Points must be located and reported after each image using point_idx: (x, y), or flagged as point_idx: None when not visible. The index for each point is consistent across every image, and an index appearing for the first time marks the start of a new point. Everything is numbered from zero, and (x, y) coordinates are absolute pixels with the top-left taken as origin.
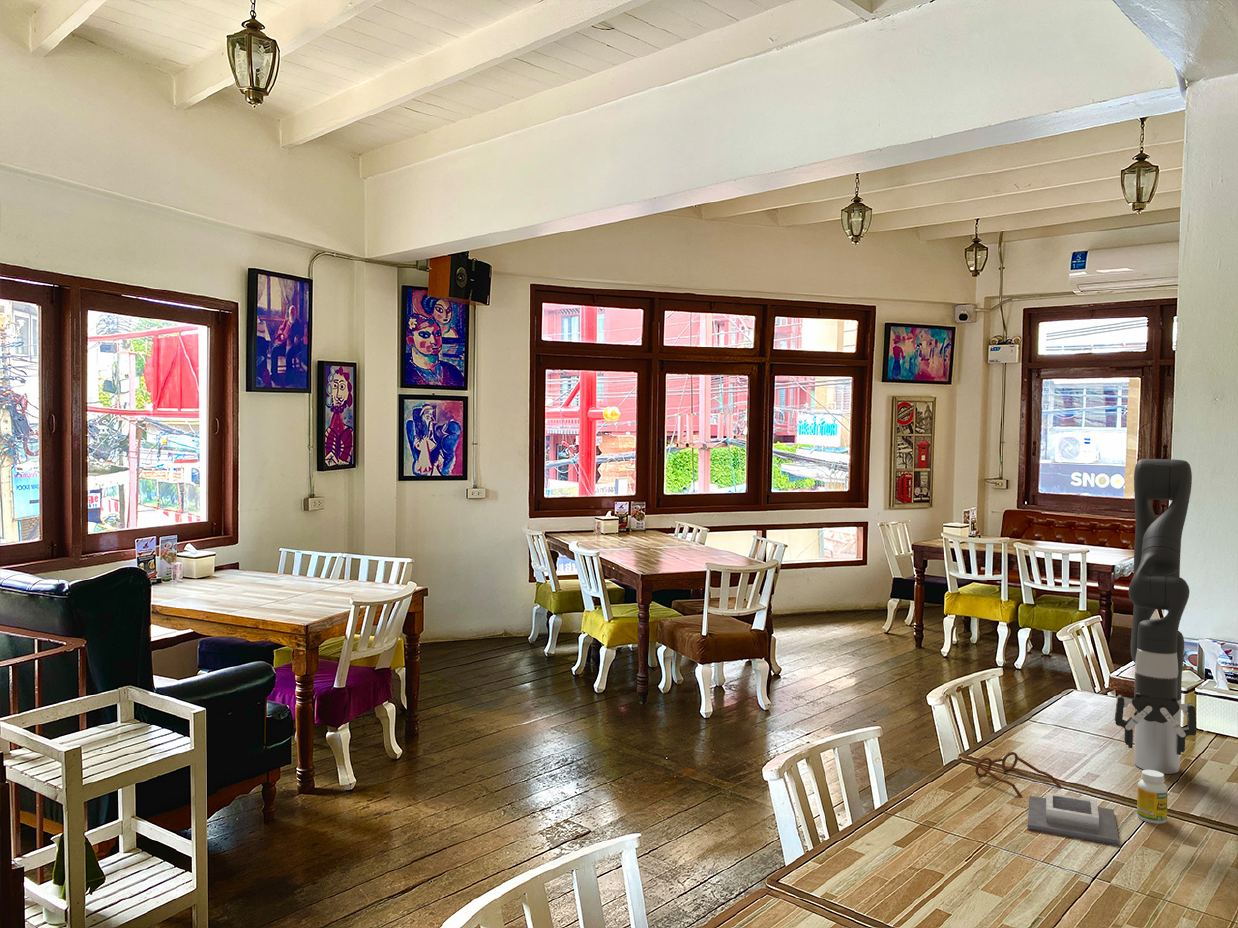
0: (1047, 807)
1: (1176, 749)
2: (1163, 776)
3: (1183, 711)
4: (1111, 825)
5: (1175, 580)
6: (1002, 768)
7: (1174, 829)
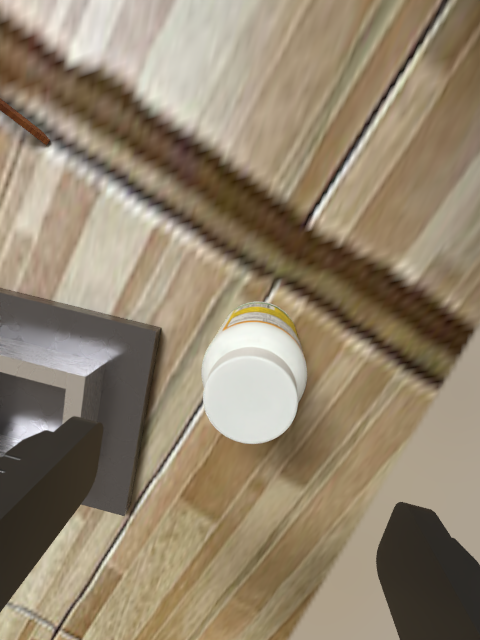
0: None
1: (397, 559)
2: (286, 429)
3: None
4: (126, 439)
5: None
6: None
7: None
